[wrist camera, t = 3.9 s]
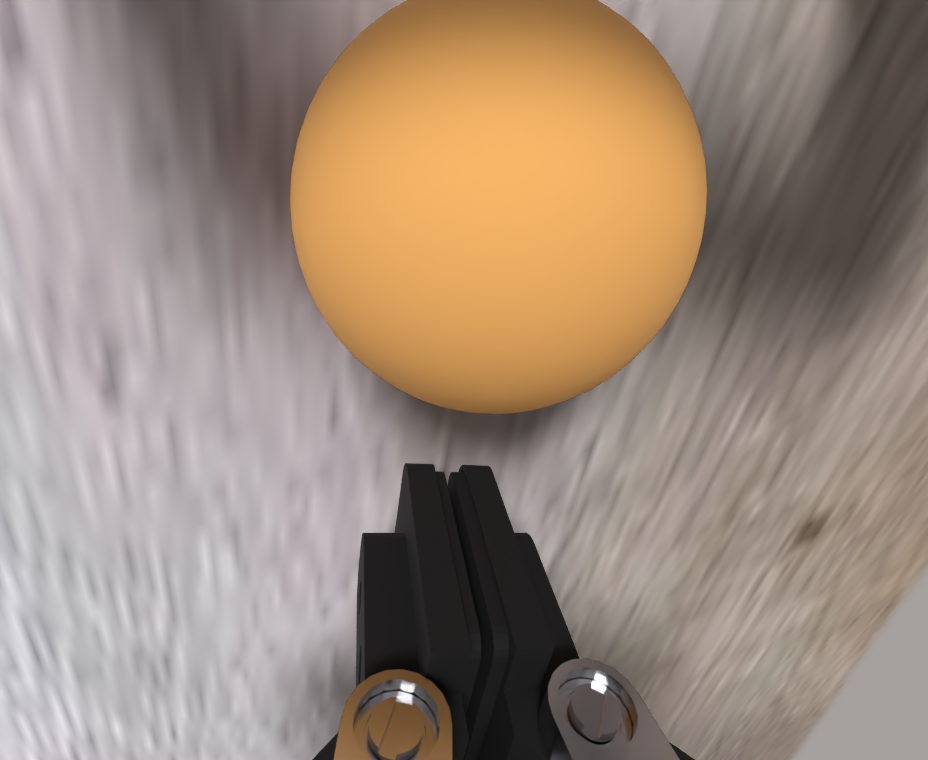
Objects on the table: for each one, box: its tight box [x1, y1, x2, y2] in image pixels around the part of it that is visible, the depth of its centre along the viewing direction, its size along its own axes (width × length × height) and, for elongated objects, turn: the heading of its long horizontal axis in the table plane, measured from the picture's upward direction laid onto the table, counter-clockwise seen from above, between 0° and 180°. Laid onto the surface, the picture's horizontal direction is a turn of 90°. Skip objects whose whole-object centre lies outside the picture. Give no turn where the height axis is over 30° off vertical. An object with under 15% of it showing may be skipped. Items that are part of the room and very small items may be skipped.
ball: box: [290, 0, 707, 414], centre depth 7 cm, size 5×5×5 cm
